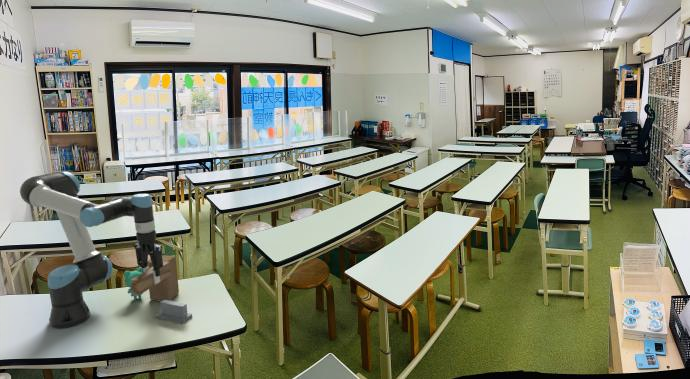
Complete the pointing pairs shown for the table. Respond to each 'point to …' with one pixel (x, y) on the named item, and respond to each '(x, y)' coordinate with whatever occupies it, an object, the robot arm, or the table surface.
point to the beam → (148, 279)
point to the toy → (129, 277)
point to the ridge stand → (174, 311)
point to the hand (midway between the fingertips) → (152, 282)
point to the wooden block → (166, 282)
